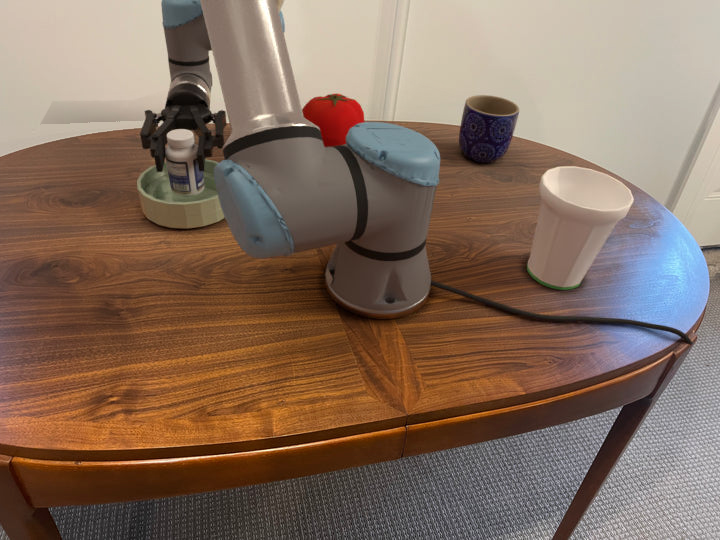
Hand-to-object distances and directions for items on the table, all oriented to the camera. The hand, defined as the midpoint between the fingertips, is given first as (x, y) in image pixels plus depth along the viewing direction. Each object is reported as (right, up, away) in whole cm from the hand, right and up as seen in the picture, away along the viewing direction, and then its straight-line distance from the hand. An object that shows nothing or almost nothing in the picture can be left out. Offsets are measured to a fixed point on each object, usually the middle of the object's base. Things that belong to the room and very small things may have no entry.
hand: (179, 163), depth 80 cm
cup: (+57, -17, +4) cm, 60 cm away
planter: (+53, +8, +34) cm, 63 cm away
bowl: (-2, -5, +11) cm, 12 cm away
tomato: (+21, +9, +31) cm, 38 cm away
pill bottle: (-2, -3, +9) cm, 9 cm away
